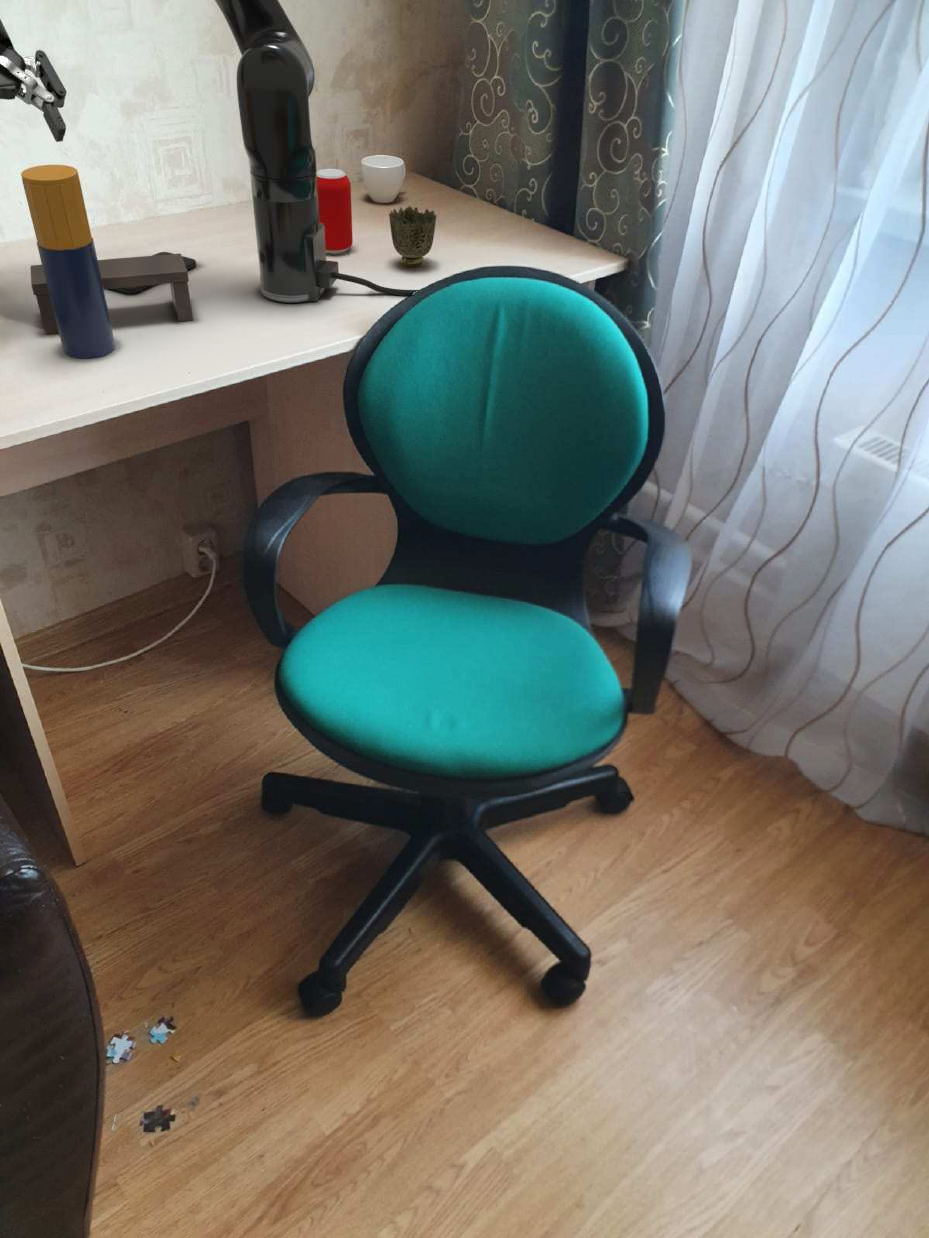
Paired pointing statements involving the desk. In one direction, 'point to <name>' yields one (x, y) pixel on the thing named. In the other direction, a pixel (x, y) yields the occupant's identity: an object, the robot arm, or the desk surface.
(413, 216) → the cup
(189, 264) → the phone
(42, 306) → the small brown bench
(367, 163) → the cup
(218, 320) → the desk surface
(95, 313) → the flask
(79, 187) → the cap
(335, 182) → the beverage can
